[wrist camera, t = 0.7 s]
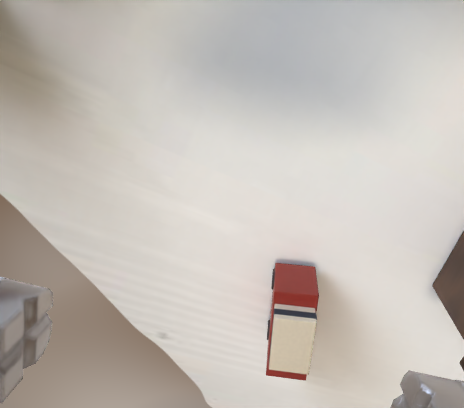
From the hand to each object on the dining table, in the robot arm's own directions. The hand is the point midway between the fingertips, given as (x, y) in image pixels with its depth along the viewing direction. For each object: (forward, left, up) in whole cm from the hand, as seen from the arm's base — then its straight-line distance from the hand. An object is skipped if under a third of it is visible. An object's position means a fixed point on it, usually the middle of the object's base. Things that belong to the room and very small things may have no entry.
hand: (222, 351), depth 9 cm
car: (+25, +10, -37) cm, 45 cm away
